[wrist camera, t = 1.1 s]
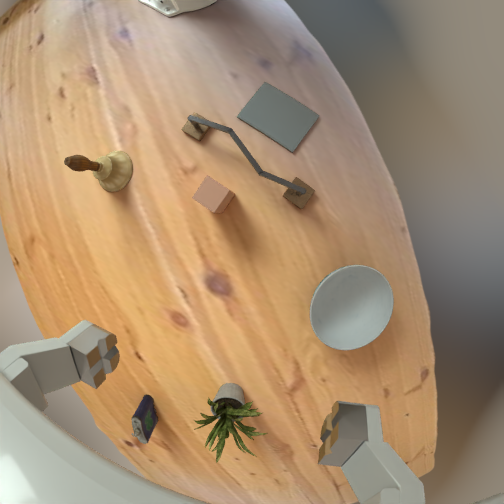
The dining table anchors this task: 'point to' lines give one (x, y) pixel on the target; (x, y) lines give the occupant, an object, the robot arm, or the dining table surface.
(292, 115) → the slate tile
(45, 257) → the dining table surface
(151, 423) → the flask
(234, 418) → the house plant
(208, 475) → the dining table surface
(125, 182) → the hand bell
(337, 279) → the chinaware
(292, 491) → the dining table surface
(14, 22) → the dining table surface
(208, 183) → the brick block
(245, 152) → the zigzag wire
